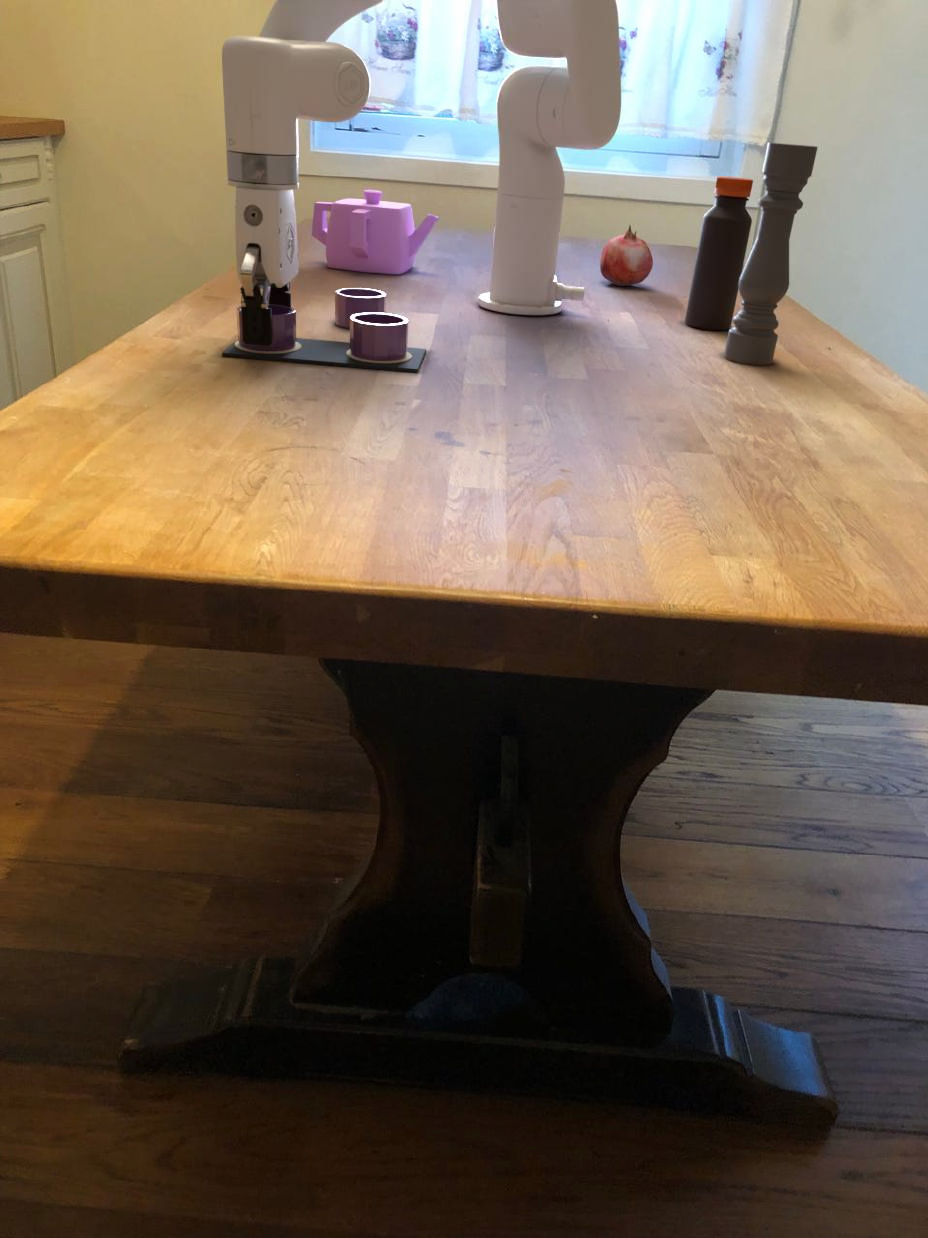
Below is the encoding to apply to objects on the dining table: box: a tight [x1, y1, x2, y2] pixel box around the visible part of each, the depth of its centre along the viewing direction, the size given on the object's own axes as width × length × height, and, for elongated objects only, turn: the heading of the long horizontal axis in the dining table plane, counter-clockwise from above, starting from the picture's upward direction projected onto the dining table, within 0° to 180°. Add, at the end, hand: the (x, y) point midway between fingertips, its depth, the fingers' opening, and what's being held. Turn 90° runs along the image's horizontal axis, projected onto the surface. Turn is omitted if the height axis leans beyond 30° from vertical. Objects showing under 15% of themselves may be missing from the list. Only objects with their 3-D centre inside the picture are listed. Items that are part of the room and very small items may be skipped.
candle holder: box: [723, 142, 819, 366], centre depth 117 cm, size 6×6×25 cm
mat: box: [221, 337, 427, 374], centre depth 110 cm, size 22×10×1 cm, turn 86°
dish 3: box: [349, 313, 409, 361], centre depth 109 cm, size 6×7×4 cm
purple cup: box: [236, 304, 297, 351], centre depth 109 cm, size 6×7×4 cm
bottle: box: [684, 176, 754, 331], centre depth 136 cm, size 7×7×20 cm
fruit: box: [599, 224, 654, 287], centre depth 167 cm, size 9×10×10 cm
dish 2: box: [334, 287, 387, 329], centre depth 125 cm, size 6×7×4 cm
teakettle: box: [311, 189, 439, 275], centre depth 164 cm, size 17×17×12 cm
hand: (268, 334), depth 110 cm, fingers open, 9 cm apart
